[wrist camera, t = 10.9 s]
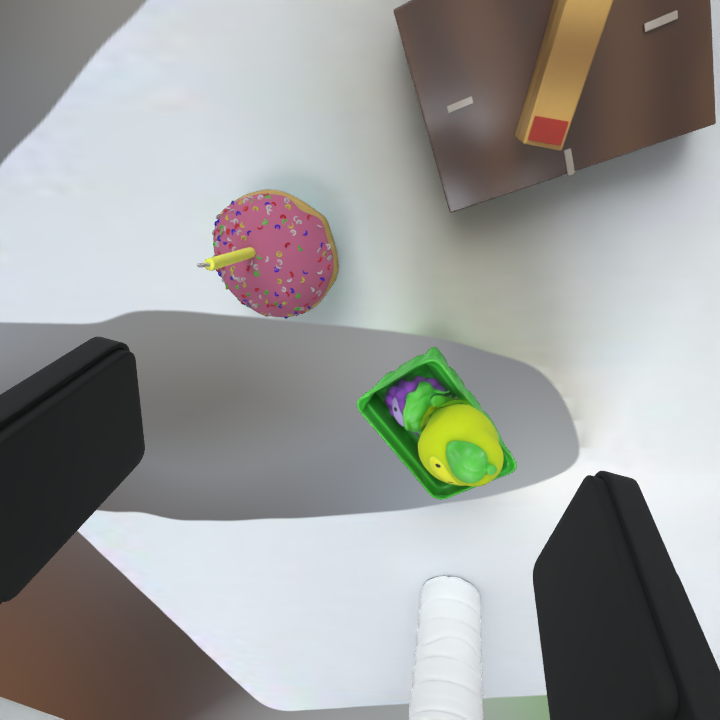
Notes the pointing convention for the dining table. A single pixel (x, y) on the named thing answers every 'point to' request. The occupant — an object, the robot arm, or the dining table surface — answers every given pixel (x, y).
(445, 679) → the water bottle
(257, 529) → the dining table surface
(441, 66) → the plate
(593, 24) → the tap handle
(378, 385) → the fruit basket
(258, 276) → the cupcake
